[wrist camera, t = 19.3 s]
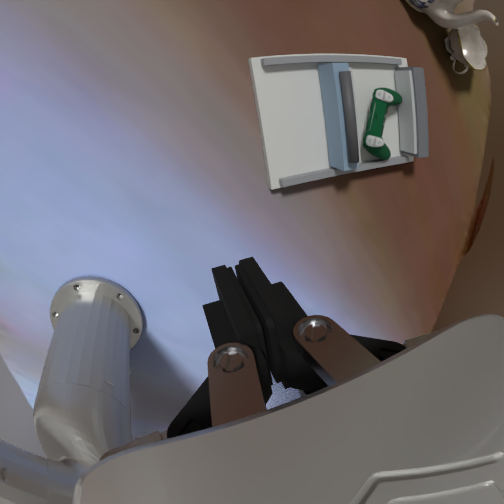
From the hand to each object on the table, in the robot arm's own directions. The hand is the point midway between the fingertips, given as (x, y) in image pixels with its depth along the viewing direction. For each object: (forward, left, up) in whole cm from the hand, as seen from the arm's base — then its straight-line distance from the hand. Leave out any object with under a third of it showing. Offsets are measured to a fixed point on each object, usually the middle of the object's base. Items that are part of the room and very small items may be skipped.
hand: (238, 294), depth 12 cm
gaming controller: (+3, -24, -22) cm, 33 cm away
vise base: (+4, -20, -23) cm, 31 cm away
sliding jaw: (+4, -18, -22) cm, 28 cm away
